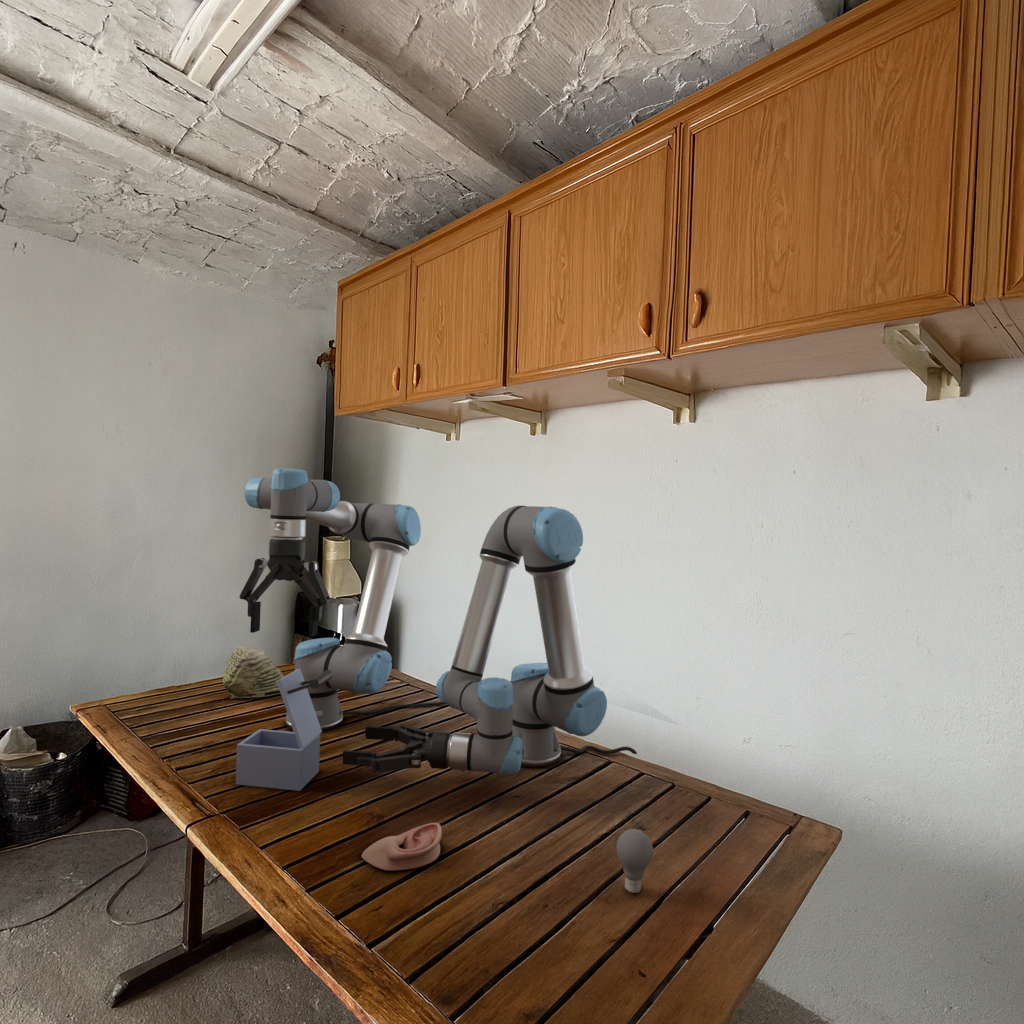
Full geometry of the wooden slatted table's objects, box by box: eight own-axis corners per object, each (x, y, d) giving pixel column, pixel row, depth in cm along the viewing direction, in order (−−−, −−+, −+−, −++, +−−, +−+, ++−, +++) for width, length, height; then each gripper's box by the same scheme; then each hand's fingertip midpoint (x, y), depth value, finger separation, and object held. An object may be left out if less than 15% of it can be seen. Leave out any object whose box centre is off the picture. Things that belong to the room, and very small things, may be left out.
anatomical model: (354, 842, 109) (381, 811, 120) (353, 865, 109) (380, 831, 121) (427, 854, 107) (448, 821, 118) (426, 877, 107) (447, 842, 118)
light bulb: (610, 879, 108) (613, 822, 108) (644, 879, 109) (647, 822, 109) (619, 902, 102) (622, 840, 102) (655, 901, 103) (658, 840, 103)
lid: (276, 681, 136) (311, 669, 135) (296, 669, 146) (329, 658, 145) (299, 749, 136) (335, 737, 135) (318, 732, 145) (351, 721, 144)
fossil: (218, 695, 195) (220, 647, 195) (278, 685, 208) (279, 640, 207) (228, 703, 189) (230, 653, 188) (289, 692, 201) (290, 645, 201)
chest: (235, 784, 138) (236, 744, 137) (258, 766, 147) (259, 728, 147) (299, 791, 136) (301, 750, 136) (318, 772, 146) (320, 734, 145)
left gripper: (225, 536, 138) (221, 633, 139) (334, 542, 135) (330, 641, 136) (243, 534, 146) (240, 626, 146) (347, 540, 143) (344, 633, 143)
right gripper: (436, 795, 124) (332, 787, 127) (461, 744, 149) (374, 738, 151) (436, 758, 124) (332, 750, 126) (461, 713, 149) (374, 707, 151)
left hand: (283, 633), depth 141 cm, fingers open, 13 cm apart
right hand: (355, 744), depth 139 cm, fingers open, 13 cm apart
